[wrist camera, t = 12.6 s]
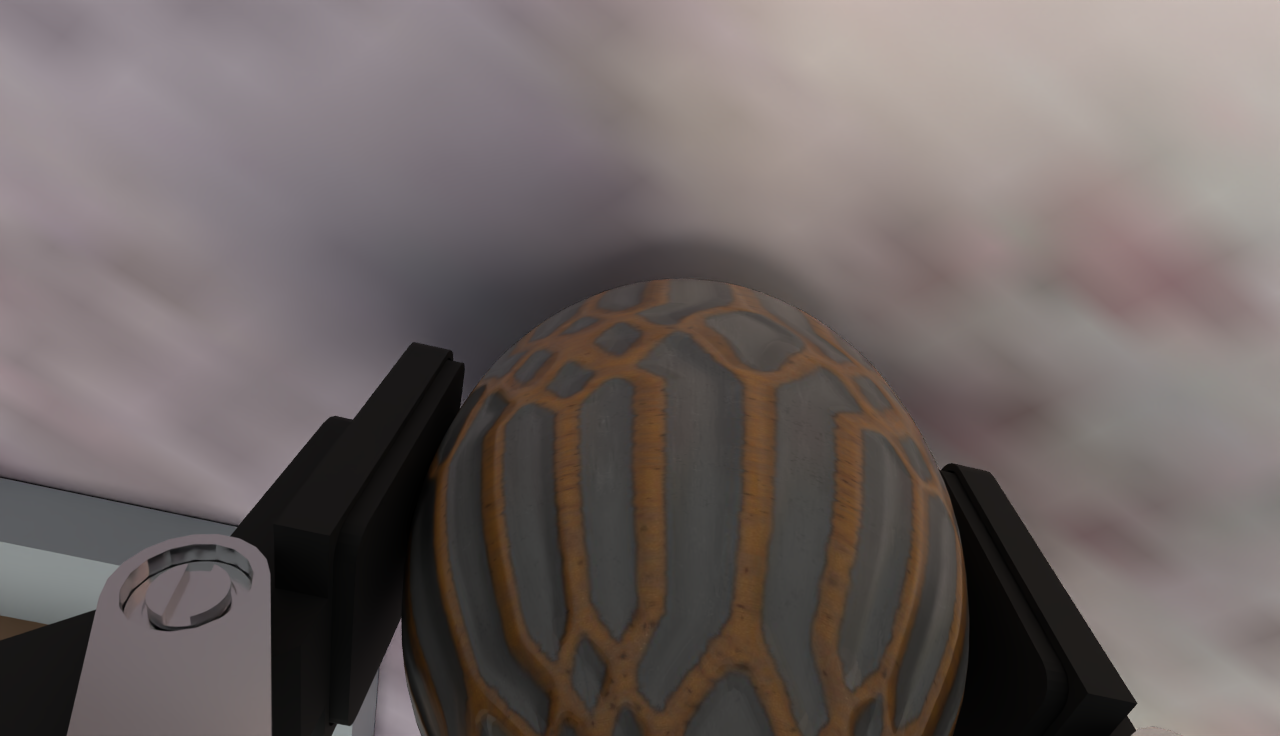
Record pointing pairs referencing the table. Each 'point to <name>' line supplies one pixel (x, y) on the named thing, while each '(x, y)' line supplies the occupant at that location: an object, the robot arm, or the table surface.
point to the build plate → (89, 557)
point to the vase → (684, 535)
